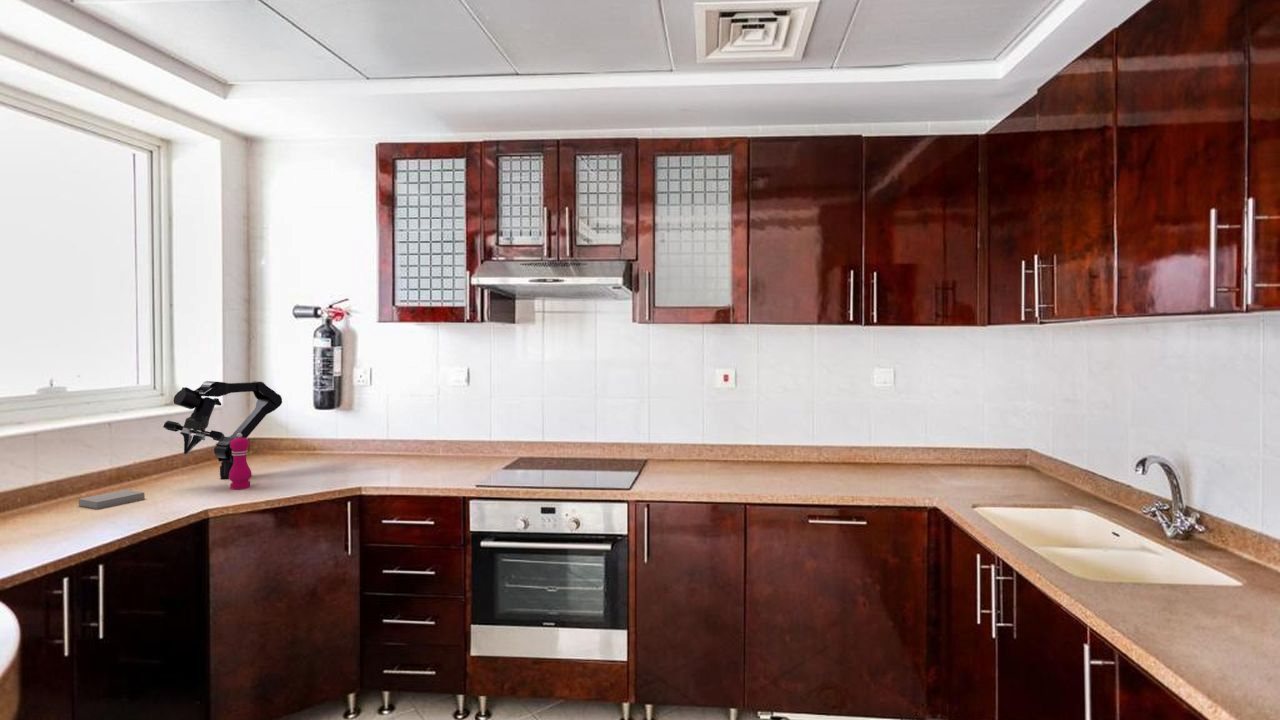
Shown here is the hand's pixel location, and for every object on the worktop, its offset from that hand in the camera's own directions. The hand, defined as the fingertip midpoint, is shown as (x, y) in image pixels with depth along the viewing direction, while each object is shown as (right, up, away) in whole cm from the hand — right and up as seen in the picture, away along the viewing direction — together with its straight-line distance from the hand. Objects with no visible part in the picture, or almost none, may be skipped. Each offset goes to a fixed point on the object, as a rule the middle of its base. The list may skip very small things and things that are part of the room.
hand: (185, 454), depth 241 cm
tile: (-7, -12, -15) cm, 20 cm away
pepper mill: (+20, -12, 0) cm, 24 cm away
